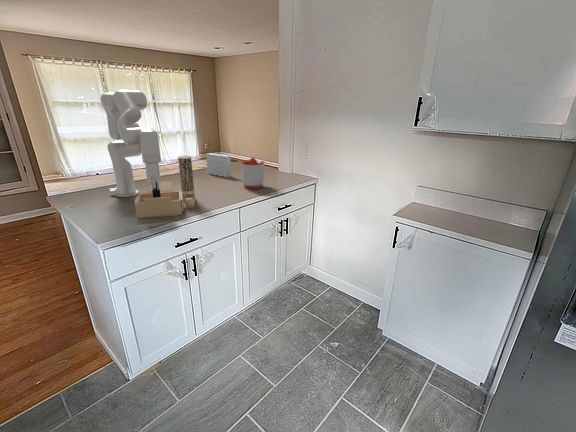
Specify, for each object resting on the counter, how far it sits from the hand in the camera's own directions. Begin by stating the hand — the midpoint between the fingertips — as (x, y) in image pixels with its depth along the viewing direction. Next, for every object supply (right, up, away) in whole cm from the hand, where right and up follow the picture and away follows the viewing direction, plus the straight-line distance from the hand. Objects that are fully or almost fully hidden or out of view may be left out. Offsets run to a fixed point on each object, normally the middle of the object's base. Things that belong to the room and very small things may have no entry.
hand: (157, 197), depth 138 cm
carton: (-4, -6, +15) cm, 17 cm away
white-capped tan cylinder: (+8, -4, +22) cm, 24 cm away
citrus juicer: (+38, +11, +64) cm, 75 cm away
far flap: (-7, +4, +20) cm, 21 cm away
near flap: (-1, -2, +5) cm, 5 cm away
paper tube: (+3, +1, +35) cm, 35 cm away
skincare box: (+8, +23, +91) cm, 94 cm away
